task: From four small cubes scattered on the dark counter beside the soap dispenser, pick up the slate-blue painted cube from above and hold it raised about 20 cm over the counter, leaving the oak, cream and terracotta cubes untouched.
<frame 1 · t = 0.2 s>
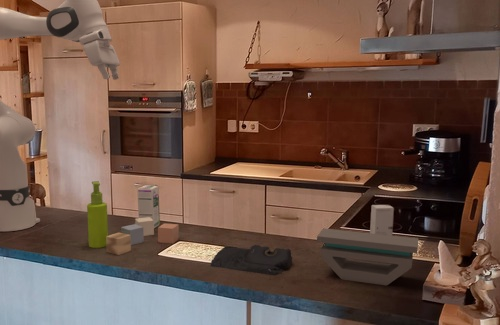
hand: (111, 79, 166), 52 cm above the table, tool tilted 20°, fingers open, 8 cm apart
terracotta cube: (168, 240, 161), on the table
crumpled black cloth: (252, 264, 142), on the table
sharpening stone: (365, 277, 132), on the table
syrup box: (149, 227, 177), on the table
slate-blue cube: (132, 242, 160), on the table
skincare box: (380, 243, 160), on the table
cream cube: (144, 233, 169), on the table
oak cube: (118, 251, 151), on the table
soap dispenser: (98, 245, 157), on the table
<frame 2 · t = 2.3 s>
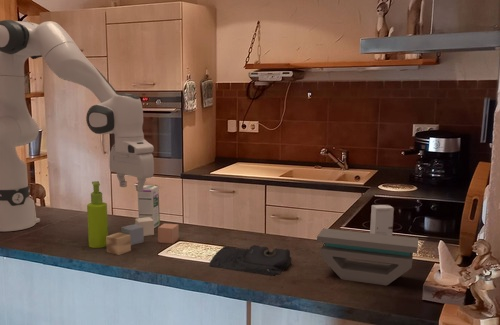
hand: (131, 188, 157), 17 cm above the table, tool pointing down, fingers open, 8 cm apart
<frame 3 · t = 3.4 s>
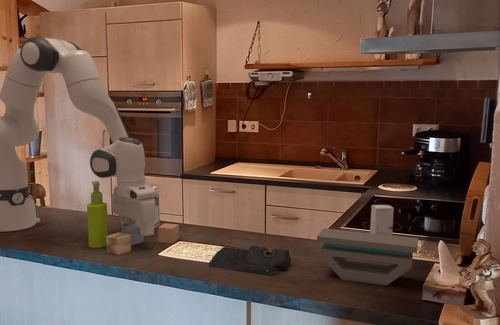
hand: (133, 231, 159), 3 cm above the table, tool pointing down, fingers open, 8 cm apart
nothing on the table moved.
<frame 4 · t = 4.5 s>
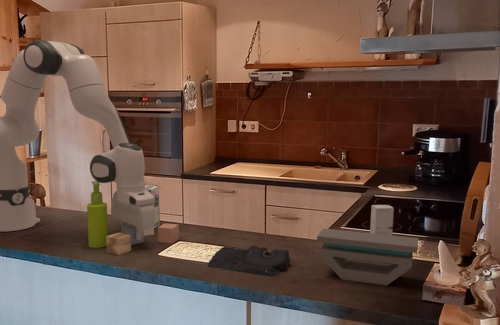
hand: (132, 236, 159), 2 cm above the table, tool pointing down, fingers closed on slate-blue cube, 5 cm apart
slate-blue cube: (132, 241, 160), on the table, touching gripper
everything else where it was.
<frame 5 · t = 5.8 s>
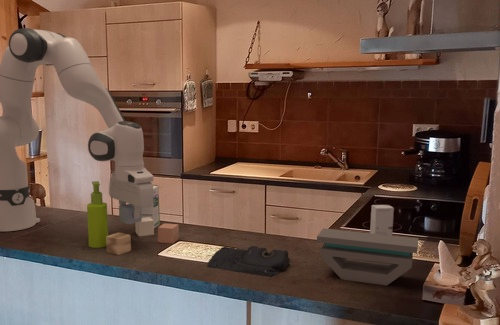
hand: (130, 216, 158), 8 cm above the table, tool pointing down, fingers closed on slate-blue cube, 5 cm apart
slate-blue cube: (130, 221, 159), point 7 cm above the table, touching gripper
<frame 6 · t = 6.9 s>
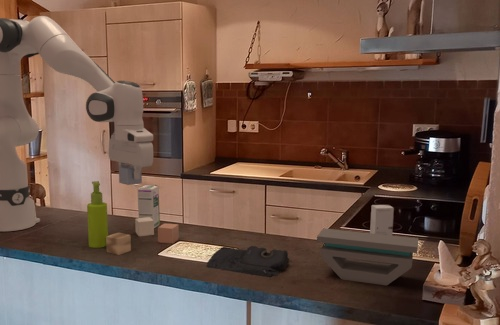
hand: (130, 177, 157), 21 cm above the table, tool pointing down, fingers closed on slate-blue cube, 5 cm apart
slate-blue cube: (130, 182, 157), point 19 cm above the table, touching gripper
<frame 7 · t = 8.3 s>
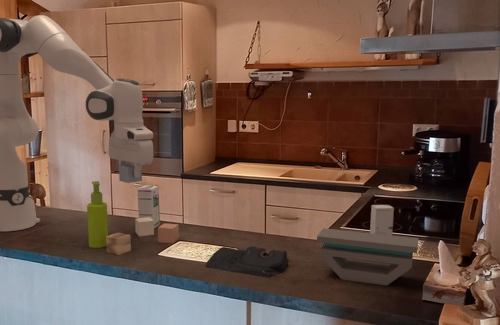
hand: (130, 175, 156), 22 cm above the table, tool pointing down, fingers closed on slate-blue cube, 5 cm apart
slate-blue cube: (130, 180, 157), point 20 cm above the table, touching gripper
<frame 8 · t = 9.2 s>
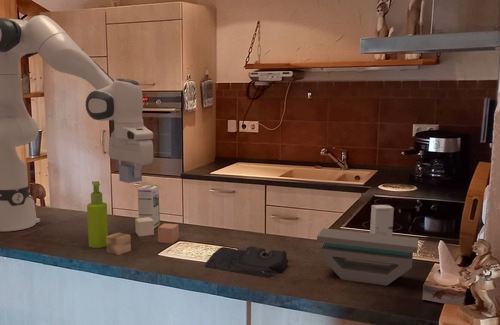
hand: (130, 175, 156), 22 cm above the table, tool pointing down, fingers closed on slate-blue cube, 5 cm apart
slate-blue cube: (130, 180, 157), point 20 cm above the table, touching gripper
at the end: the gripper is holding slate-blue cube; slate-blue cube point 19.9 cm above the table; oak cube moved 0.1 cm from its start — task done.
